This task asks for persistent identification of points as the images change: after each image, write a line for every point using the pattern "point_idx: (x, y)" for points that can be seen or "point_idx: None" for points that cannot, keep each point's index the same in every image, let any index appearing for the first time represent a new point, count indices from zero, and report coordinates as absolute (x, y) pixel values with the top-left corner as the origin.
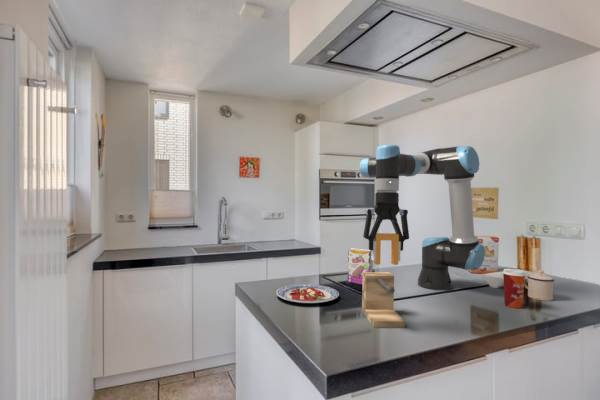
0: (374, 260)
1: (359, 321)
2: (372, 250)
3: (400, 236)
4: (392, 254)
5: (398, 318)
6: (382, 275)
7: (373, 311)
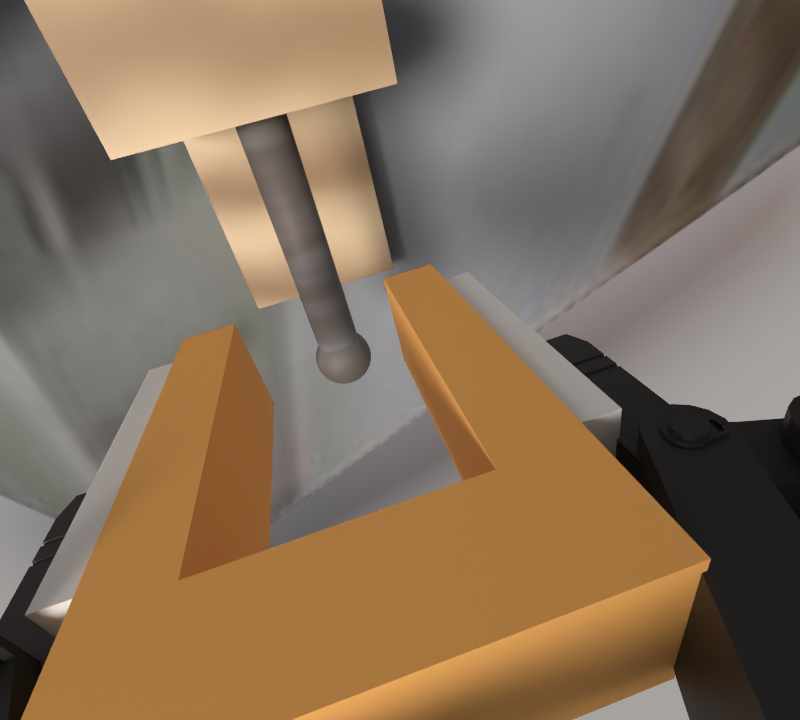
0: None
1: (180, 243)
2: None
3: None
4: (421, 374)
5: (369, 240)
6: (282, 107)
7: (237, 165)
